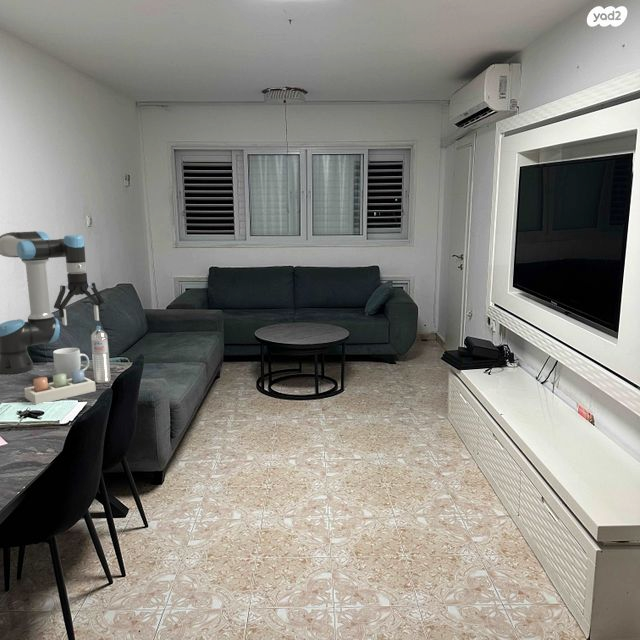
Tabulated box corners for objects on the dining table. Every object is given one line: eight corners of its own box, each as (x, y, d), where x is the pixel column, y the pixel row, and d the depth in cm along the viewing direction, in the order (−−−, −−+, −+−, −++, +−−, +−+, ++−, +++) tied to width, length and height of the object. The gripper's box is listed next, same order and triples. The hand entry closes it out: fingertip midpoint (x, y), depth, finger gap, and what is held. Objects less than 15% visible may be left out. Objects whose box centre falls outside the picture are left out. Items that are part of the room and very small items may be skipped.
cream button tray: (25, 397, 234) (24, 388, 233) (83, 384, 251) (83, 376, 250) (35, 404, 226) (34, 395, 225) (95, 391, 242) (95, 381, 241)
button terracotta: (32, 390, 232) (31, 378, 231) (45, 388, 236) (44, 376, 235) (37, 393, 229) (35, 381, 228) (50, 390, 232) (49, 378, 231)
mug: (86, 372, 270) (84, 345, 267) (94, 377, 262) (91, 349, 259) (52, 378, 261) (49, 350, 258) (59, 383, 252) (56, 354, 250)
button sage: (51, 386, 238) (50, 375, 237) (64, 384, 241) (63, 372, 240) (56, 389, 234) (55, 377, 233) (69, 386, 237) (67, 375, 237)
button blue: (70, 382, 243) (69, 371, 242) (82, 380, 246) (81, 369, 245) (75, 385, 239) (74, 373, 238) (86, 382, 243) (86, 371, 242)
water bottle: (114, 379, 258) (109, 325, 253) (104, 384, 251) (100, 328, 246) (100, 378, 260) (96, 324, 255) (91, 383, 253) (86, 327, 248)
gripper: (49, 275, 229) (54, 328, 233) (109, 270, 246) (113, 319, 250) (42, 274, 234) (47, 325, 238) (102, 269, 251) (105, 317, 255)
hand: (81, 322), depth 244 cm, fingers open, 13 cm apart
